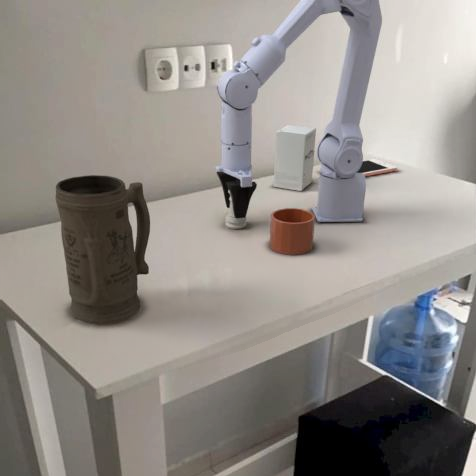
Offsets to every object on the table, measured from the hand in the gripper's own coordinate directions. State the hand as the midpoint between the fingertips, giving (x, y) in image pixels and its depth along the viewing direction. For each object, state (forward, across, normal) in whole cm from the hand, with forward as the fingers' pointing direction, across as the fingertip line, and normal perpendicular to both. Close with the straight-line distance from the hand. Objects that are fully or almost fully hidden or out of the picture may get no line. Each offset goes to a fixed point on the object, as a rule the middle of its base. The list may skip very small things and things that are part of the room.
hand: (236, 212), depth 128 cm
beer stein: (+3, +27, -28) cm, 39 cm away
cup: (+3, +13, +7) cm, 15 cm away
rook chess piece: (+3, 0, 0) cm, 3 cm away
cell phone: (+3, -28, +40) cm, 49 cm away
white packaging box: (+3, -22, +20) cm, 30 cm away
